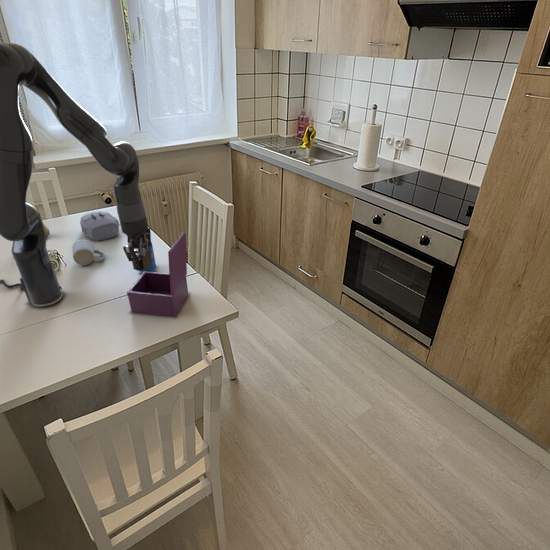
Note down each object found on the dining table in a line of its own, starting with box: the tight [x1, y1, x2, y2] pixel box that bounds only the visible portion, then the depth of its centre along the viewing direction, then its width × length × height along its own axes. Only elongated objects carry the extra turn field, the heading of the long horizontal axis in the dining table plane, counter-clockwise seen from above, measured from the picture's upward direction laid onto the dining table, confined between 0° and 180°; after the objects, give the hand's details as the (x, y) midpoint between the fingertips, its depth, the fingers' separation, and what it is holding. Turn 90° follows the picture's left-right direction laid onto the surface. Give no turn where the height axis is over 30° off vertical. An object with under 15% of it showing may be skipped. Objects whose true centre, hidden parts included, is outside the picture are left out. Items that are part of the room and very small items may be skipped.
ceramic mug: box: [71, 239, 105, 266], centre depth 150 cm, size 11×8×8 cm
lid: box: [167, 231, 188, 296], centre depth 120 cm, size 15×13×1 cm
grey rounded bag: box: [79, 210, 120, 241], centre depth 171 cm, size 15×8×20 cm
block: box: [131, 248, 153, 271], centre depth 121 cm, size 4×4×5 cm
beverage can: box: [134, 239, 157, 274], centre depth 144 cm, size 6×6×12 cm
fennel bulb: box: [35, 209, 50, 238], centre depth 165 cm, size 6×5×12 cm
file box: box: [126, 271, 189, 318], centre depth 127 cm, size 15×13×8 cm
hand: (143, 265), depth 122 cm, fingers closed on block, 4 cm apart
